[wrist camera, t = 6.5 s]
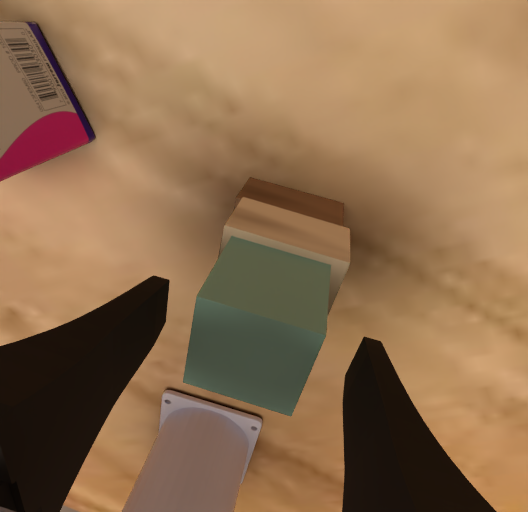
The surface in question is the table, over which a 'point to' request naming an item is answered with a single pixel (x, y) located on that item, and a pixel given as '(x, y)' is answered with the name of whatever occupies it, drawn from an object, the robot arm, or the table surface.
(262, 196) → the tower base block
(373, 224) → the table surface
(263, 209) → the tower top block
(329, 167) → the table surface
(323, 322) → the teal cube
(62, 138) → the supplement box
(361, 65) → the table surface
